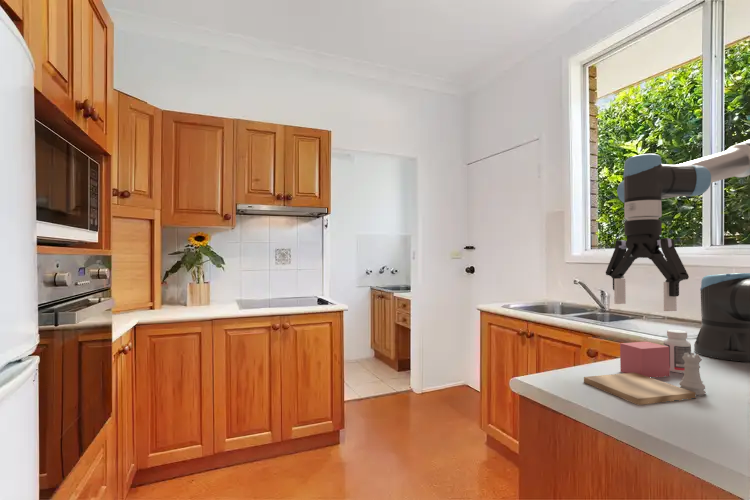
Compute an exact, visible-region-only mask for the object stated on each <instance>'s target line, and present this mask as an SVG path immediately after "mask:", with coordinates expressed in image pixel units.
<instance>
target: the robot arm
mask: <svg viewBox="0 0 750 500" xmlns="http://www.w3.org/2000/svg"><path fill="white" fill-rule="evenodd" d="M623 166H624V167H623V179H622V181H620V182H619V184H618V186H617V190H616V193H617V196H618V199H619V201H621V202H622V203H623V204H624V206H623V207H624V209H623V210H624V219H625V220H626V221H624V222H623V223H624V225H623V226H624V227H623V229H624V235H625V236H626V237H627V239H621V240H619V239H616V240H615V243H614V251H613V253H612V255H611V258H610V261H609V263H608V266H607V268H606V270H605V275H606V276H609V277H611V279H612V289H613V292H614V299H613V300H614V302H613V303H614V304H615V305H621V304H622V305H625V304H626V278H625V276H624V275H625V274H626V273H627V271H628V270H629V268H630V267H631V266H632V264H633V263H634V262H635V261H636V260H637V259H638V258H640V259H641V258H642V259H644V258H645V259H647V258H648V259H649V260H650V261H652V263H653V264H654V266H655V267H656V268H657V269H658V271H659V272H660V273H661V275H662V276H663V277H664V278H665V281H663V311H664V312H676V311H677V309H678V308H677V307H678V306H677V297H679V296H680V282H681V281H686V280H689V278H690V277H689V274H688V271H687V270H686V268H685V266H684V264H683V261H682V259H681V257H680V255H679V254H678V252H677V250H676V248H675V241H674V239H673V238H671V237H670V238H669V237H668V238H664V237H663V238H660V236H661V235H662V233H663V232H662V231H663V230H662V229H663V227H662V226H663V225H662V220H661V219H659V218H662V216H663V214H662V213H663V212H662V211H663V209H662V208H663V207H662V200H664V199H665V200H666V199H671V198H676V197H697V196H701V195H703V194H705V193H706V192H707V191H708V189H709V188H710V186H711V184H712V183H715V182H719V181H722V180H723V181H724V180H726V179H729V178H733V177H736V178H746V177H749V176H750V139H747V140H746V141H743V142H740V143H736V144H734V145H731V146H729V147H728V148H727V149H726V150H724V151H721V152H717V153H713V154H710V155H707V156H703V157H699V158H696V159H693V160H689V161H686V162H683V163H682V162H681V163H679V164H678V163H677V164H665V163H663V161H662V157H661V155H659V154H656V153H644V154H643V153H642V154H638V155H634V156H630V157H628V158H627V159H626V160H625V161H624V165H623ZM700 282H701V283H700V285H701V286H700V289H699V290H700V312H701V313H700V314H701V327H700V328H699V331H698V334H697V335H696V338H695V341H694V345H693V346H694V347H693V349H694V352H695V354H699V355H701V356H704V357H709V358H714V359H719V360H726V361H734V362H746V363H750V272H741V273H739V272H737V273H722V274H721V273H720V274H710V275H705V276H704V277H703V278H701V281H700Z"/></svg>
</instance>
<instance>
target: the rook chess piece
mask: <svg viewBox="0 0 750 500" xmlns="http://www.w3.org/2000/svg"><path fill="white" fill-rule="evenodd" d="M682 358H683V360H684V361H685V364H684V366H685V371H684V373H683V377H682V378H681V380H680V381H679V384H678V385H679V387H680V388H683V389H686V390H689V391H692V392H695V395H696V396H697V395H702V396H705V394H706V393H707V391H706V390H705V389H706V385H705V384H703V382H704V381H702V378H701V374H700V373H701V372H700V369H701V366H700V362H702V358H701V357H700V354H698V353H694V352H691V355H689V353H684V356H683V357H682Z"/></svg>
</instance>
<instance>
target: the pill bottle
mask: <svg viewBox="0 0 750 500" xmlns="http://www.w3.org/2000/svg"><path fill="white" fill-rule="evenodd" d="M666 337H667V338H665V339H664V340H663V346H668V347H669V370H670V372H671V373H672V372H673V373H677V374H684V371H685V366H684V364H685V361H684V360H683V358H682V357H683V356H684V353H689V355H691V353H692V344H691V342H690V341H689V340H687V338H688V332H687V331H685V330H680V329H668V330H666Z"/></svg>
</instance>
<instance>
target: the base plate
mask: <svg viewBox="0 0 750 500" xmlns="http://www.w3.org/2000/svg"><path fill="white" fill-rule="evenodd" d="M583 383H584V384H587V385H590V386H592V387H594V388H597V389H599V390H602V391H604V392H606V393H608V394H610V395H613V396H616V397H618V398H620V399H623V400H625V401H627V402H629V403H632V404H635V405H637V406H642V405H650V404H657V403H659V404H660V402H661V403H667V402H666V401H670V402H675V401H674V400H679V401H683V400H682V399H688V400H692V399H691V398H697V397H696V396H697V395H695V392H692V391H689V390H686V389H683V388H680V387H681V386H677V385H674V384H671V383H669V382H664V381H662V380H659V379H655V378H650V377H647V376H644V375H641V374H638V373H635V372H634V373H624V372H622V373H613V374H601V375H591V376H584V377H583Z"/></svg>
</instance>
